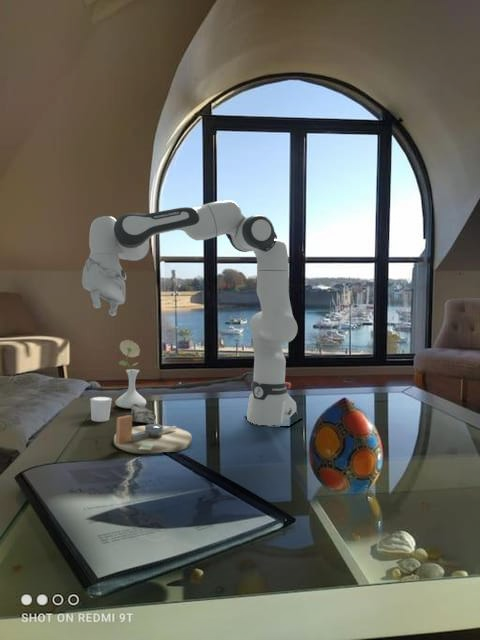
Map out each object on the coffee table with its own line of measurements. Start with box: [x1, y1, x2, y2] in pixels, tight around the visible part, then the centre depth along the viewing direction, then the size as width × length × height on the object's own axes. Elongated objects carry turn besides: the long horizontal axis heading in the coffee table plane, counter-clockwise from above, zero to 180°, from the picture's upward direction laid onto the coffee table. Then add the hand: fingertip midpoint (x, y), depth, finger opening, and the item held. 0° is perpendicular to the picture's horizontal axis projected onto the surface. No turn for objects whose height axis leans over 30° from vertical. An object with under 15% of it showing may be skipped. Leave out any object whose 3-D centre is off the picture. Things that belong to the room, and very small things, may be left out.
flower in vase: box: [114, 339, 147, 409], centre depth 168 cm, size 13×11×25 cm
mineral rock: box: [130, 404, 157, 424], centre depth 151 cm, size 15×8×4 cm, turn 16°
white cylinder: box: [90, 396, 113, 423], centre depth 150 cm, size 7×7×7 cm
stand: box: [113, 425, 193, 455], centre depth 130 cm, size 22×22×2 cm
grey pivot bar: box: [115, 414, 178, 444], centre depth 128 cm, size 21×5×7 cm, turn 141°
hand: (105, 311), depth 134 cm, fingers open, 8 cm apart
